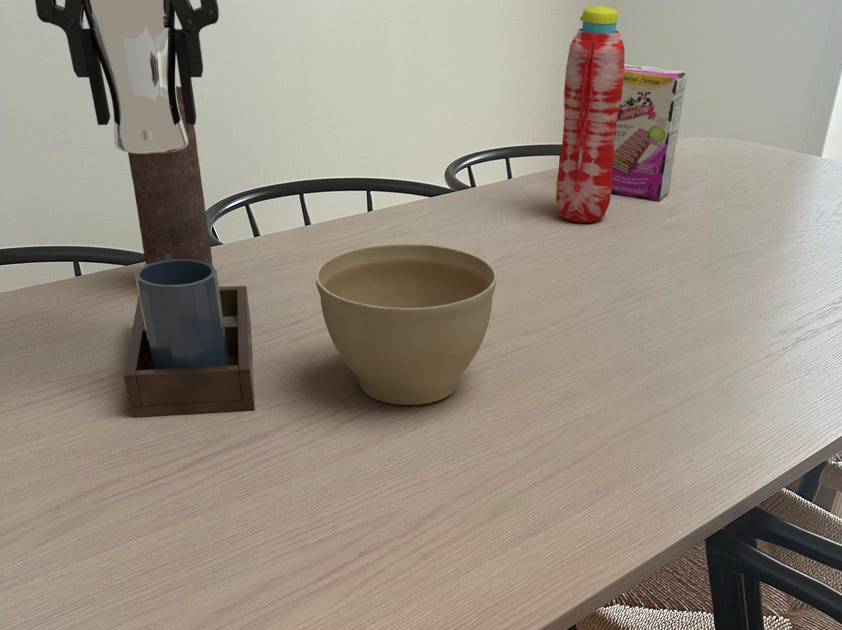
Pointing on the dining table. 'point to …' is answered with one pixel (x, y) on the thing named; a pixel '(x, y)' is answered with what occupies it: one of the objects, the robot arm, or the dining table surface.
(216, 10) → the robot arm
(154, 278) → the tumbler
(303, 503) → the dining table surface
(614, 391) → the dining table surface
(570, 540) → the dining table surface
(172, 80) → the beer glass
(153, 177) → the candle
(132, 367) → the glass rack
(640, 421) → the dining table surface
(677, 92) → the candy bar box
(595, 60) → the water bottle
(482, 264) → the planter bowl
